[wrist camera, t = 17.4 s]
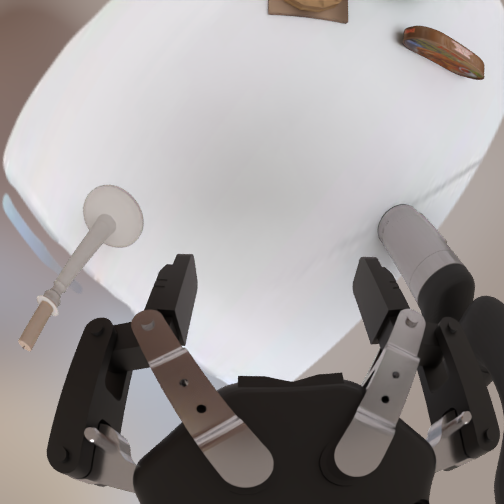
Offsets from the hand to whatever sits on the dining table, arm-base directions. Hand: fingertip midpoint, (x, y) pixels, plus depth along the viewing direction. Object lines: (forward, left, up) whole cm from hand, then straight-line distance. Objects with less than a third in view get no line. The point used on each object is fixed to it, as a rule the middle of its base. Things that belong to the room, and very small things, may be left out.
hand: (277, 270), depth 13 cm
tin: (-27, -19, -30) cm, 45 cm away
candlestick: (+27, +13, -30) cm, 43 cm away
